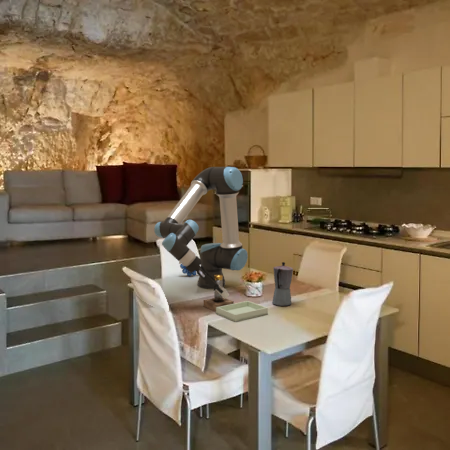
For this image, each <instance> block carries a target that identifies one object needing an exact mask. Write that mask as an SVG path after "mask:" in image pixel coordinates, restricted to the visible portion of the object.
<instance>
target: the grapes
mask: <svg viewBox="0 0 450 450" xmlns="http://www.w3.org/2000/svg"><path fill="white" fill-rule="evenodd" d="M179 267H180V269H181V272H182V273H183V274H184V275H186V276H187V277H191V276H194V277H195V276H196V275H197V271H196V270H195V271H194V272H192V273H191V272H189V271H188V270H187V269H186V266H183V265H182V263H181V264H179Z"/></svg>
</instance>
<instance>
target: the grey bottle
mask: <svg viewBox="0 0 450 450" xmlns="http://www.w3.org/2000/svg"><path fill="white" fill-rule="evenodd" d="M223 276H224V274H223V275H214V281H215V282H216V283H217V284H218V285H220V286H221V287H222V288H224V287H223ZM213 293H214V297H213V298H214V302H216V303H219V302H223V297H222V296H221V295H220V294H219V293H218V292H217V291H216V290H215V291H214V290H213Z"/></svg>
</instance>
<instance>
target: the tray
mask: <svg viewBox="0 0 450 450" xmlns="http://www.w3.org/2000/svg"><path fill="white" fill-rule="evenodd" d="M268 312H269V307H267V306H264V305H261V304H259V303H256V302H253V301H249V300H244V301H239V302H235V303H234V304H230V305H225V306H220V307H216V311H215V314H216V315H217V316H220V317H223V318H225V319H227V320H230V321H232V322H234V323H237V322H241V321H246V320H249V319H254V318H257V317H263V316H267V315H268V314H269V313H268Z"/></svg>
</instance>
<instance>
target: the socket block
mask: <svg viewBox="0 0 450 450" xmlns="http://www.w3.org/2000/svg"><path fill="white" fill-rule="evenodd" d="M230 304H235V303H234V301H233V300H231V299H228V298H226V299H225V298H223V302H219V303H216V302H214V297H212V298H209V299H203V307H204V308H206V309H208V310H212V311H214V312H216V307H220V306H225V305H230Z"/></svg>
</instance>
